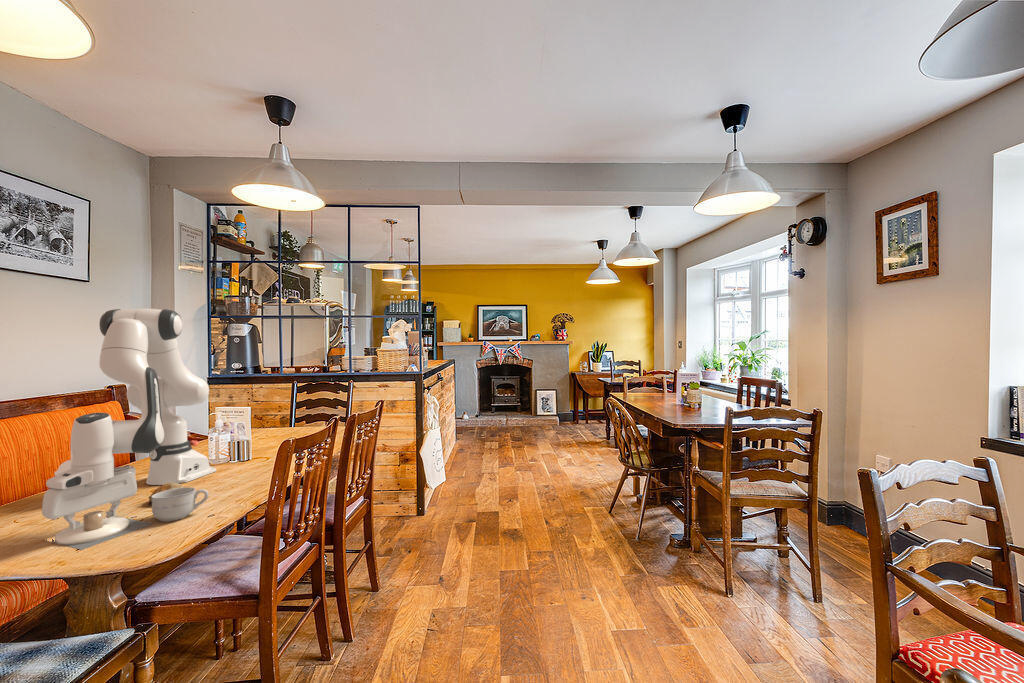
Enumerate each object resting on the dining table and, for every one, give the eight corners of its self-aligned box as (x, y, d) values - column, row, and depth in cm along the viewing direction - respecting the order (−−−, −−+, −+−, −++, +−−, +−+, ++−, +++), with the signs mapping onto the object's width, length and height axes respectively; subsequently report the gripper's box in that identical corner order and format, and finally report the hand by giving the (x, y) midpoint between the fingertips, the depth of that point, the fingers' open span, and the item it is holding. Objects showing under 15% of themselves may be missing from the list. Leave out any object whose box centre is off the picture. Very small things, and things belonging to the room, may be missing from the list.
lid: (107, 518, 134) (107, 501, 134) (141, 525, 129) (141, 507, 129) (41, 539, 120) (41, 520, 120) (76, 548, 115) (76, 528, 115)
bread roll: (184, 514, 148) (196, 489, 151) (148, 508, 142) (162, 483, 144) (176, 506, 155) (188, 483, 158) (142, 501, 148) (155, 476, 151)
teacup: (143, 527, 129) (143, 499, 129) (162, 513, 140) (162, 487, 140) (199, 522, 133) (199, 494, 133) (213, 508, 143) (213, 483, 143)
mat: (115, 517, 136) (115, 516, 136) (153, 525, 131) (153, 523, 131) (41, 541, 120) (41, 539, 120) (81, 551, 115) (81, 549, 115)
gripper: (128, 462, 136) (128, 508, 136) (38, 482, 116) (38, 536, 116) (142, 464, 134) (142, 510, 134) (52, 485, 114) (53, 539, 114)
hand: (93, 522), depth 125 cm, fingers open, 7 cm apart
